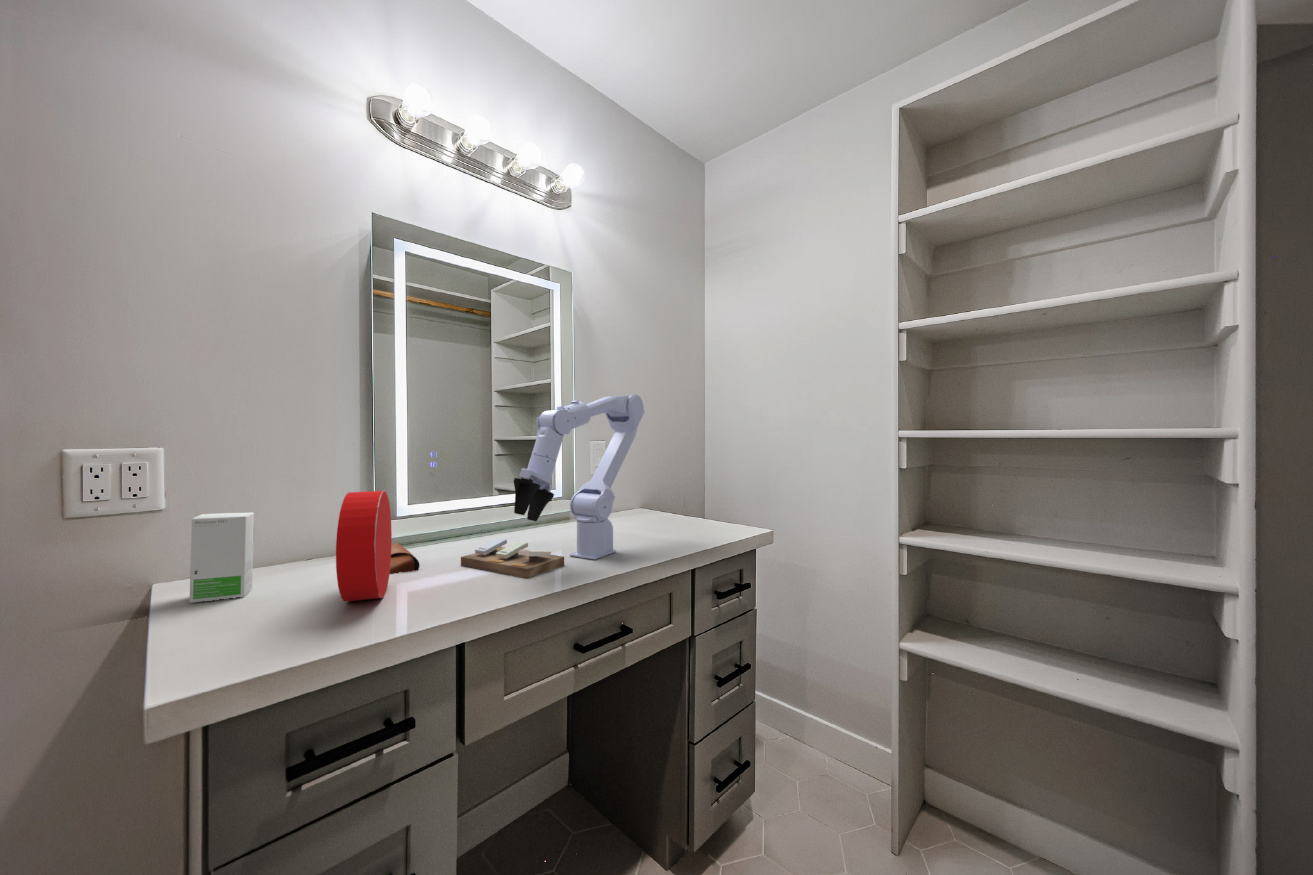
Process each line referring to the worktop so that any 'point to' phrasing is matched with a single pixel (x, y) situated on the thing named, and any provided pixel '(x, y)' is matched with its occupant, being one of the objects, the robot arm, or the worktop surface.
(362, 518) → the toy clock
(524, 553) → the cream rocker
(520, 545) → the sage rocker
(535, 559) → the switch panel
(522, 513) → the robot arm
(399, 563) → the sunglasses case
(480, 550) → the bluegrey rocker
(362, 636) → the worktop surface
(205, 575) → the skincare box
